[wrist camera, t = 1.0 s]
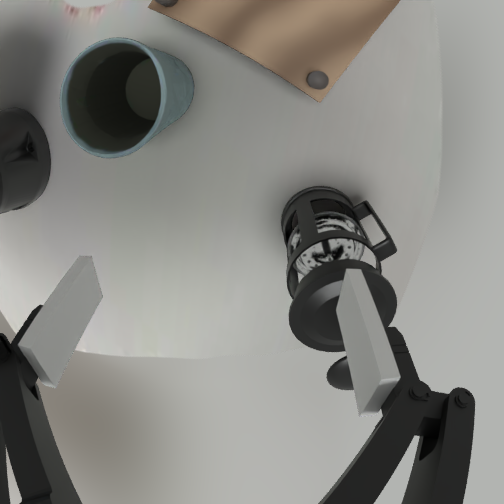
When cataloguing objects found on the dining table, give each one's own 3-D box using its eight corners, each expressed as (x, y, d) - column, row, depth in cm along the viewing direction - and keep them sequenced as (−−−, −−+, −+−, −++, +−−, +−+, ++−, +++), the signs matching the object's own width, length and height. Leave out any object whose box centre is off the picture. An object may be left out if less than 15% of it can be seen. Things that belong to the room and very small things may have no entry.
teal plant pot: (167, 146, 35) (125, 180, 25) (102, 103, 32) (42, 121, 22) (218, 76, 30) (192, 76, 20) (147, 31, 27) (94, 18, 17)
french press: (302, 268, 42) (318, 425, 23) (261, 215, 39) (250, 371, 19) (379, 224, 38) (454, 367, 19) (344, 163, 35) (428, 287, 15)
